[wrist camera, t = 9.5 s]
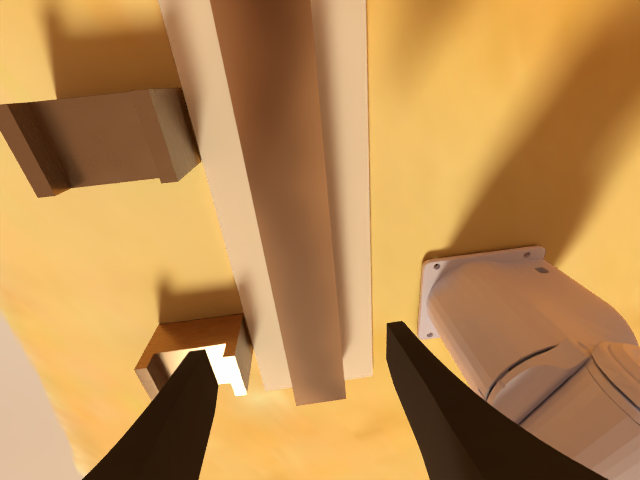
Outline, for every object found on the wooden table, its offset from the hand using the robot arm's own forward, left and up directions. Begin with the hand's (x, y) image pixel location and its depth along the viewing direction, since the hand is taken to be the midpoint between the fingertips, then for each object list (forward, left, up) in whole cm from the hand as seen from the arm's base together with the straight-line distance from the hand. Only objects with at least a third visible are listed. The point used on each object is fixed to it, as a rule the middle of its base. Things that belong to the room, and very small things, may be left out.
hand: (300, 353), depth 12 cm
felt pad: (0, 0, -10) cm, 10 cm away
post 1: (+8, -8, -10) cm, 15 cm away
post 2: (+8, +8, -10) cm, 16 cm away
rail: (0, 0, -10) cm, 10 cm away
